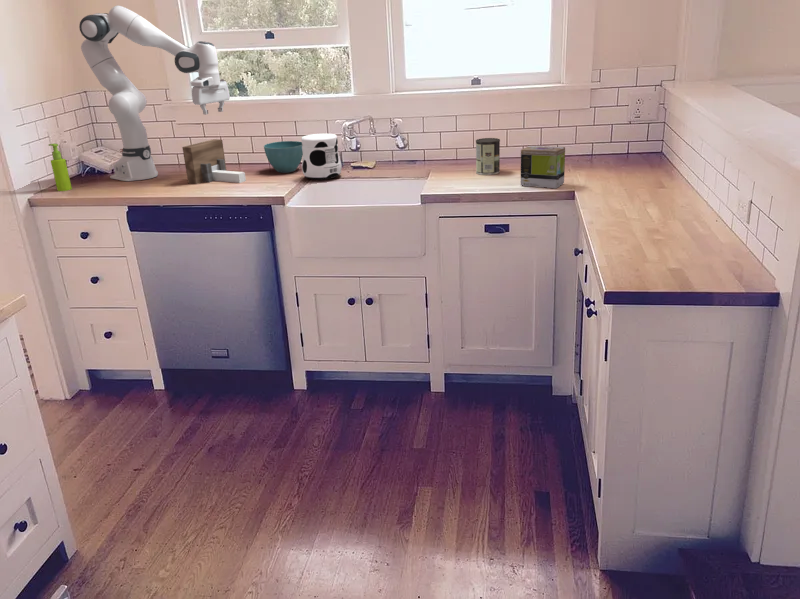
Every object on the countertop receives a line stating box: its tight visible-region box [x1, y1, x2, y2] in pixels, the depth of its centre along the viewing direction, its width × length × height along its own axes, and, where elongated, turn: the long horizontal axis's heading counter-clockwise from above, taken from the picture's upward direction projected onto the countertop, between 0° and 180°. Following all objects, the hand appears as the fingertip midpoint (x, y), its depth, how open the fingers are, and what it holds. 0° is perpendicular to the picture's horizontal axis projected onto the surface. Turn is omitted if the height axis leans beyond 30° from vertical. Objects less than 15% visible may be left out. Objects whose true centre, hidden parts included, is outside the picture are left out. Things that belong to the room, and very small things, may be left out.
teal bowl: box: [263, 140, 303, 174], centre depth 323 cm, size 18×18×12 cm
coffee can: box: [475, 137, 501, 176], centre depth 301 cm, size 10×10×14 cm
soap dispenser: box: [48, 143, 73, 192], centre depth 306 cm, size 6×7×20 cm
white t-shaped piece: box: [211, 165, 247, 184], centre depth 311 cm, size 17×8×6 cm, turn 62°
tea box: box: [520, 145, 566, 189], centre depth 275 cm, size 15×10×15 cm
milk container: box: [301, 133, 342, 181], centre depth 305 cm, size 17×17×18 cm
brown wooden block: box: [181, 138, 228, 185], centre depth 313 cm, size 8×20×16 cm, turn 152°
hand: (213, 113), depth 313 cm, fingers open, 8 cm apart
